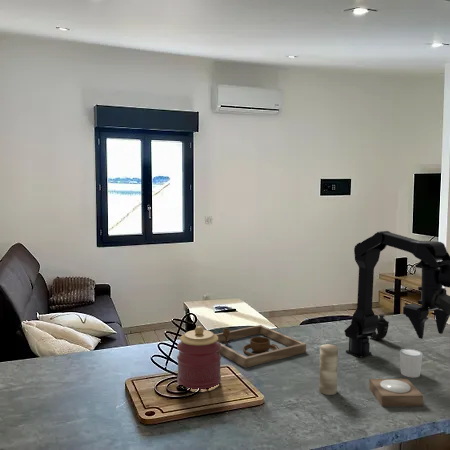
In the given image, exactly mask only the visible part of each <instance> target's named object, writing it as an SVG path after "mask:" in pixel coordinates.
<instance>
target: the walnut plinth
mask: <svg viewBox="0 0 450 450" xmlns="http://www.w3.org/2000/svg"><path fill="white" fill-rule="evenodd" d="M368 380H369V383H368V385H369V386H368V389H369V390H370V392H371V393H372V395H373V396H374V397H375V399H376V400H377V401H378V403H379V404H380V406H381V407H423V406H424V405H423V404H424V395H423V393H421V392H420V391H419V390H418V389H417V388H416V387H415V386H414V385H413V383H412V382H411V381H410V380H409V379H408V378H369V379H368Z"/></svg>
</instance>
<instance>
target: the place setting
mask: <svg viewBox="0 0 450 450" xmlns="http://www.w3.org/2000/svg"><path fill="white" fill-rule="evenodd" d="M222 329H223V330H222V333H223V336H224V337H225V341H224V345H228V344H229V343H228V341H229V340H227V337H229V334H230V331H231V330H230V329H229V328H222ZM249 342H250V343H248V344H246V345H244V346H243V347H242V350H243V353H244V354H245V355H247V356H252V355H256V354H260V353H265V352H268V350H269V349H271V350H272V351H273V350H277V349H280V348H279V347H278V345H276V344H274V343H272V344H271V340H270V338H269V337H266V336H255V337H251V338H250V340H249ZM247 349H251V350H252V351H253V352H254V353H253V352H249V351H247Z"/></svg>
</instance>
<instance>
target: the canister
mask: <svg viewBox="0 0 450 450" xmlns="http://www.w3.org/2000/svg"><path fill="white" fill-rule="evenodd" d="M215 334H216V333H214V332H213V331H210V330H206V329H204V328H203V327H202V326H201V325H200V326H199V325H198V326H196V327H195V328H194V329H193V330H189V331H186V332H185V333H184V334H182V335H181V336H180V337H179V340H180V342H179V343H177V345H176V348H177V350H178V355H176V359H177V379H176V381H177V383H179V384H180V385H183V386H185V387H188V388H192V389H198V388H199V389H205V388H211V387H214V386H216V385H218V384H219V383H220V384H221V381H222V374H221V359H222V354H220V353H219V349H220V348H221V344H222V343H221V342H218V341H217V340H218V336H217V335H215ZM220 343H221V344H220Z"/></svg>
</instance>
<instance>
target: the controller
mask: <svg viewBox="0 0 450 450" xmlns="http://www.w3.org/2000/svg"><path fill="white" fill-rule="evenodd" d="M389 323H390V321H388V320H386V319H385V315H384V314H378V326H377V328H376V330H375V331H374V333H373V336H369V338H371V339H373V340H376V341H377V340H383V339H384V338H385V337H386V336H387V334H388V330H389V325H390V324H389ZM376 331H377V332H376Z"/></svg>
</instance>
